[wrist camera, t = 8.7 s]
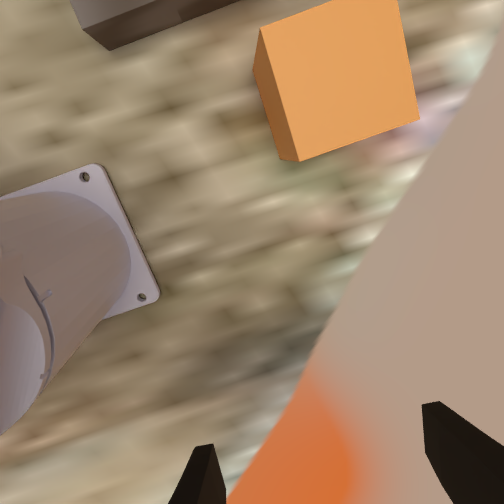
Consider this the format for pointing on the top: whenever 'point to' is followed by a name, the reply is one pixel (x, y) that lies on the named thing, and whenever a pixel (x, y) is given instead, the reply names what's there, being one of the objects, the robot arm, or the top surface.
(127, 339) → the top surface
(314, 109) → the orange block
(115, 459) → the top surface
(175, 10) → the pocket holder
